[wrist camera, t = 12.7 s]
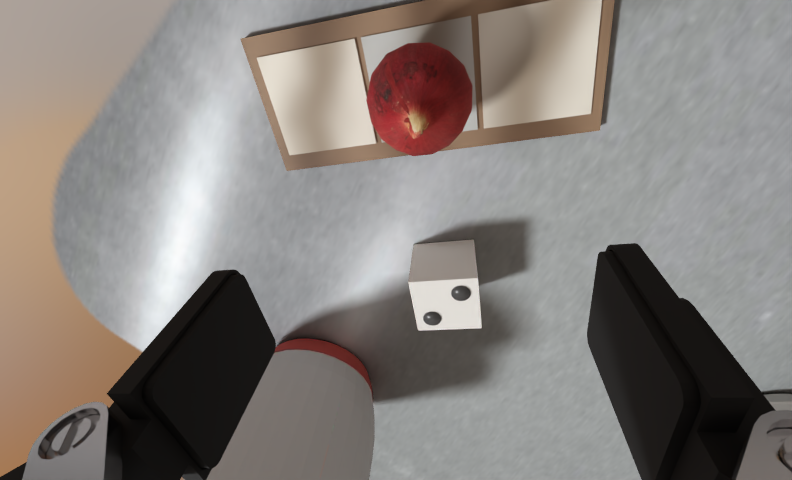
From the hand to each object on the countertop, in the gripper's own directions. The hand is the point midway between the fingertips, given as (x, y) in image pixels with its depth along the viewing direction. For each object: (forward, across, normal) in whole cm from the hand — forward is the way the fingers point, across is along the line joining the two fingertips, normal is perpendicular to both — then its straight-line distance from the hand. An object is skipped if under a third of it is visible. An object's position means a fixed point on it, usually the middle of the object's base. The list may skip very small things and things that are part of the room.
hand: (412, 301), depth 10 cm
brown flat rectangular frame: (+19, +1, -2) cm, 19 cm away
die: (+19, 0, +13) cm, 23 cm away
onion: (+18, +1, -2) cm, 18 cm away
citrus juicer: (+19, +15, +27) cm, 36 cm away
